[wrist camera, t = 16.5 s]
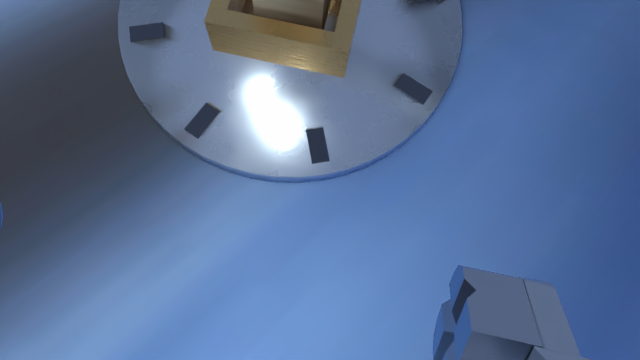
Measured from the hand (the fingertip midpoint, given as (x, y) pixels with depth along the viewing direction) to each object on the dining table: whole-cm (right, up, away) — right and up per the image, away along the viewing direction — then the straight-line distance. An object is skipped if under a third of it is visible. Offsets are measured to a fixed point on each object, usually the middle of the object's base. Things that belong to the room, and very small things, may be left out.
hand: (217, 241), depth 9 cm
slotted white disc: (0, +11, +24) cm, 27 cm away
